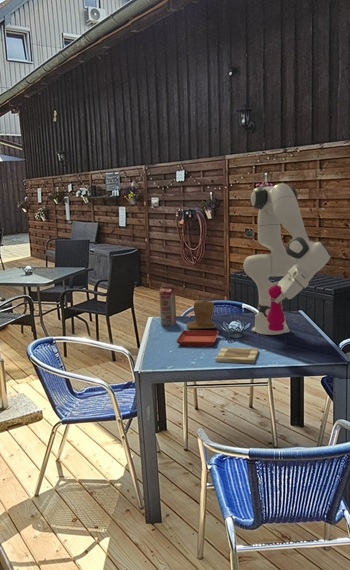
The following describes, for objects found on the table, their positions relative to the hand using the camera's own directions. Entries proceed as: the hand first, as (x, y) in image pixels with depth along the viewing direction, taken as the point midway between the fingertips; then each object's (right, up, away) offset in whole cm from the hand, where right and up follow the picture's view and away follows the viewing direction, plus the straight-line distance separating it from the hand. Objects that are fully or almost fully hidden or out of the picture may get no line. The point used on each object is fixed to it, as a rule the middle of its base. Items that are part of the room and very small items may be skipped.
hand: (274, 300), depth 210 cm
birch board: (-14, -24, +9) cm, 29 cm away
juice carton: (-44, -15, +70) cm, 84 cm away
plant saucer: (-30, -21, +34) cm, 50 cm away
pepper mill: (+1, -12, +2) cm, 12 cm away
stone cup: (-27, -17, +57) cm, 66 cm away
